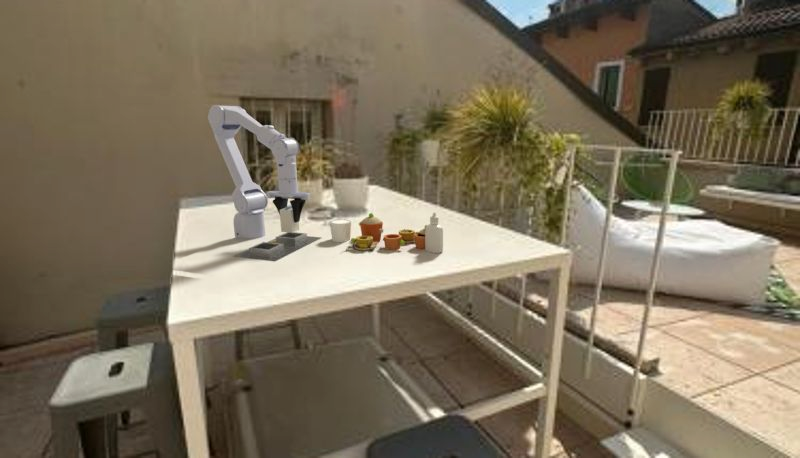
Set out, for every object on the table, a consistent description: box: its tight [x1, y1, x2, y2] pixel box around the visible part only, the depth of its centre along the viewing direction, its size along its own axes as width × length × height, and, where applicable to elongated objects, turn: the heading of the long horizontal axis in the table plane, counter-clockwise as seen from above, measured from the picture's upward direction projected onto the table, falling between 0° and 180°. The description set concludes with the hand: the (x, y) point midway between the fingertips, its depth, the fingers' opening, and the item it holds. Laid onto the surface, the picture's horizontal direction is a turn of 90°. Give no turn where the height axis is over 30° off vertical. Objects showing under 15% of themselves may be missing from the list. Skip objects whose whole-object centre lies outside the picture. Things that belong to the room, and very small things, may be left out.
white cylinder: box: [329, 219, 352, 243], centre depth 137 cm, size 7×7×7 cm
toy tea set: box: [350, 212, 428, 252], centre depth 135 cm, size 26×16×10 cm, turn 90°
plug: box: [279, 205, 300, 233], centre depth 134 cm, size 4×4×8 cm
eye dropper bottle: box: [424, 211, 444, 254], centre depth 127 cm, size 4×6×12 cm
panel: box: [232, 231, 322, 262], centre depth 130 cm, size 14×26×3 cm, turn 161°
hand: (290, 221), depth 134 cm, fingers closed on plug, 4 cm apart
